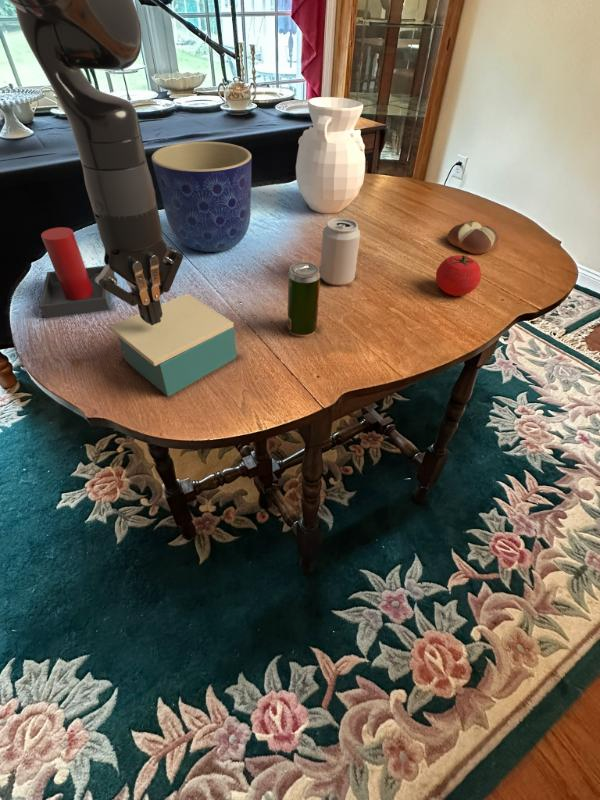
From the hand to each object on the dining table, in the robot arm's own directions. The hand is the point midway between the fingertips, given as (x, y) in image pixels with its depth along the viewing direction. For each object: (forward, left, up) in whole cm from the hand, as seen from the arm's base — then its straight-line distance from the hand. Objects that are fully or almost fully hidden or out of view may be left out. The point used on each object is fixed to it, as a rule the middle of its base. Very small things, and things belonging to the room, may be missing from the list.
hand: (152, 321), depth 64 cm
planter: (+15, +44, -9) cm, 47 cm away
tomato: (+60, +9, -9) cm, 61 cm away
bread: (+77, +28, -9) cm, 82 cm away
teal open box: (+3, +1, -9) cm, 9 cm away
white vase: (+50, +59, -9) cm, 78 cm away
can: (+38, +20, -9) cm, 44 cm away
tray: (-14, +26, -9) cm, 31 cm away
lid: (+3, +1, -2) cm, 4 cm away
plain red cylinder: (-14, +26, -8) cm, 31 cm away
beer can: (+25, +4, -9) cm, 27 cm away
